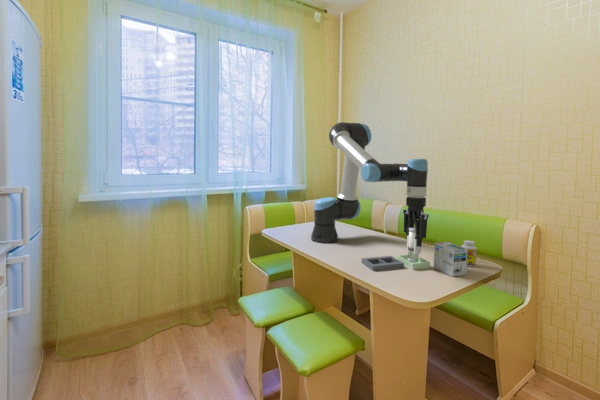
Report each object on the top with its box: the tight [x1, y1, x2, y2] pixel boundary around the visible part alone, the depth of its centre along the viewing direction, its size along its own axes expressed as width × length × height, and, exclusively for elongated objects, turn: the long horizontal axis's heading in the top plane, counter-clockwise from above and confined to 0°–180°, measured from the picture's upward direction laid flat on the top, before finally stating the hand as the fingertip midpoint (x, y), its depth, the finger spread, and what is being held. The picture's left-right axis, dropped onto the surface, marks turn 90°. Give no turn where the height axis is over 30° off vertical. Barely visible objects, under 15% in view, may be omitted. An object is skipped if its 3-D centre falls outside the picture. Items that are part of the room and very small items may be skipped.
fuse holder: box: [361, 255, 405, 272], centre depth 124 cm, size 10×14×2 cm
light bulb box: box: [433, 241, 468, 277], centre depth 118 cm, size 11×7×11 cm, turn 17°
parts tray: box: [396, 254, 431, 271], centre depth 125 cm, size 11×8×3 cm
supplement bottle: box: [461, 239, 477, 267], centre depth 125 cm, size 6×6×10 cm
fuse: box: [407, 226, 420, 263], centre depth 124 cm, size 4×4×14 cm
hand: (413, 251), depth 124 cm, fingers closed on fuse, 4 cm apart
